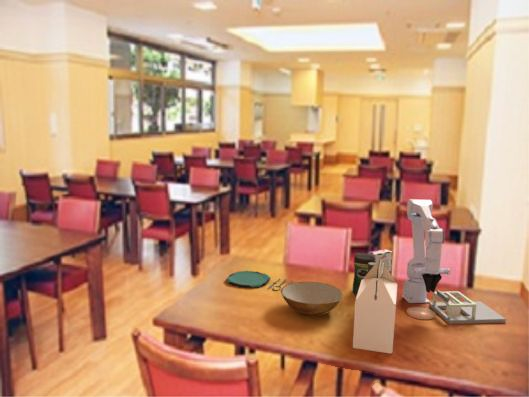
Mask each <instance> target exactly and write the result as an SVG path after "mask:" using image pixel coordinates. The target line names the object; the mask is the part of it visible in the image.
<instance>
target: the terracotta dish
mask: <svg viewBox="0 0 529 397" xmlns="http://www.w3.org/2000/svg"><path fill="white" fill-rule="evenodd" d="M406 313H407V315H409V316H410V317H412V318H414V319H418V320H424V321H426V320H428V321H429V320H434V319H435V318H436V315H437V313H436V312H435V311H434V310H433V309H431V308H426V307H423V306H410V307H408V308H407V310H406Z"/></svg>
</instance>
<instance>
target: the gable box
mask: <svg viewBox="0 0 529 397" xmlns="http://www.w3.org/2000/svg"><path fill="white" fill-rule="evenodd" d="M385 261H386V260H385ZM385 261H384V263H383V264H381V257H380V259H379V263H378V264H375V265H374V266H373V267H372V269H371V270H370V271H369V272H368V273H367V275H366V276H365V277H364V278H363V279H362V280H361V283H360V287H359V290H358V293H357V295H356V297H355V301H354V302H355V303H354V304H355V306H354V316H353V317H354V318H353V333H352V335H353V337H352V349H356V350H357V349H359V350H365V351H371V352H375V353H376V352H378V353H385V354H390V355H391V354H393V351H394V350H393V349H394V339H395V338H394V335H395V325H396V324H395V322H396V310H397V296H398V283H397V282H396V280H395V279H394V277H393V275H392V273H391V274H390V272H389V270H388V269H387V267H386V266H385Z"/></svg>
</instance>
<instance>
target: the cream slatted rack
mask: <svg viewBox="0 0 529 397" xmlns="http://www.w3.org/2000/svg"><path fill="white" fill-rule="evenodd" d="M432 293H433V295H432V302H433V305H436V302H437V299H439V300H440V302H444V303H445V304H446V305H447V306H448V314H447V317H448V318H451V313H452V307H472V317H475V315H476V305H477V304H475V303H474V302H475V301H473V300H471V299H470V298H468V297H467V296H466V295H465V294H463V293H462V292H460V291H458V290H457V291H455V290H454V291H452V290H451V291H441V290H440V289H438V290H436V291H434V292H432ZM454 295H455V296H454ZM460 298H462V299H463V300H464V302H468V303H469V304H463V303H462V302H463V301H460ZM449 300H453V301H455V302H456V303H457V304H451V303H449Z"/></svg>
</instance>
